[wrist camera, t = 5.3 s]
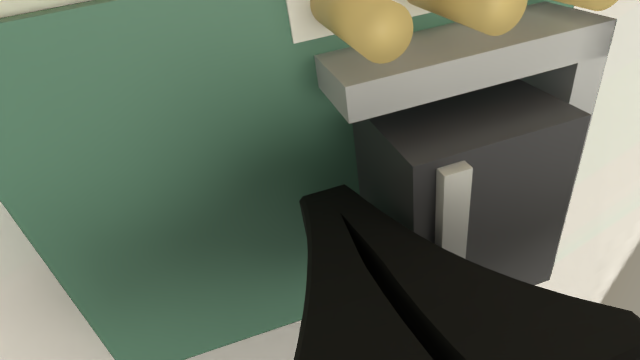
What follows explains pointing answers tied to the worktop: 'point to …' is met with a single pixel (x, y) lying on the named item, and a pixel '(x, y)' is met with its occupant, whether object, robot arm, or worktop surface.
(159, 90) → the header board
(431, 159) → the plug block
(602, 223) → the worktop surface
